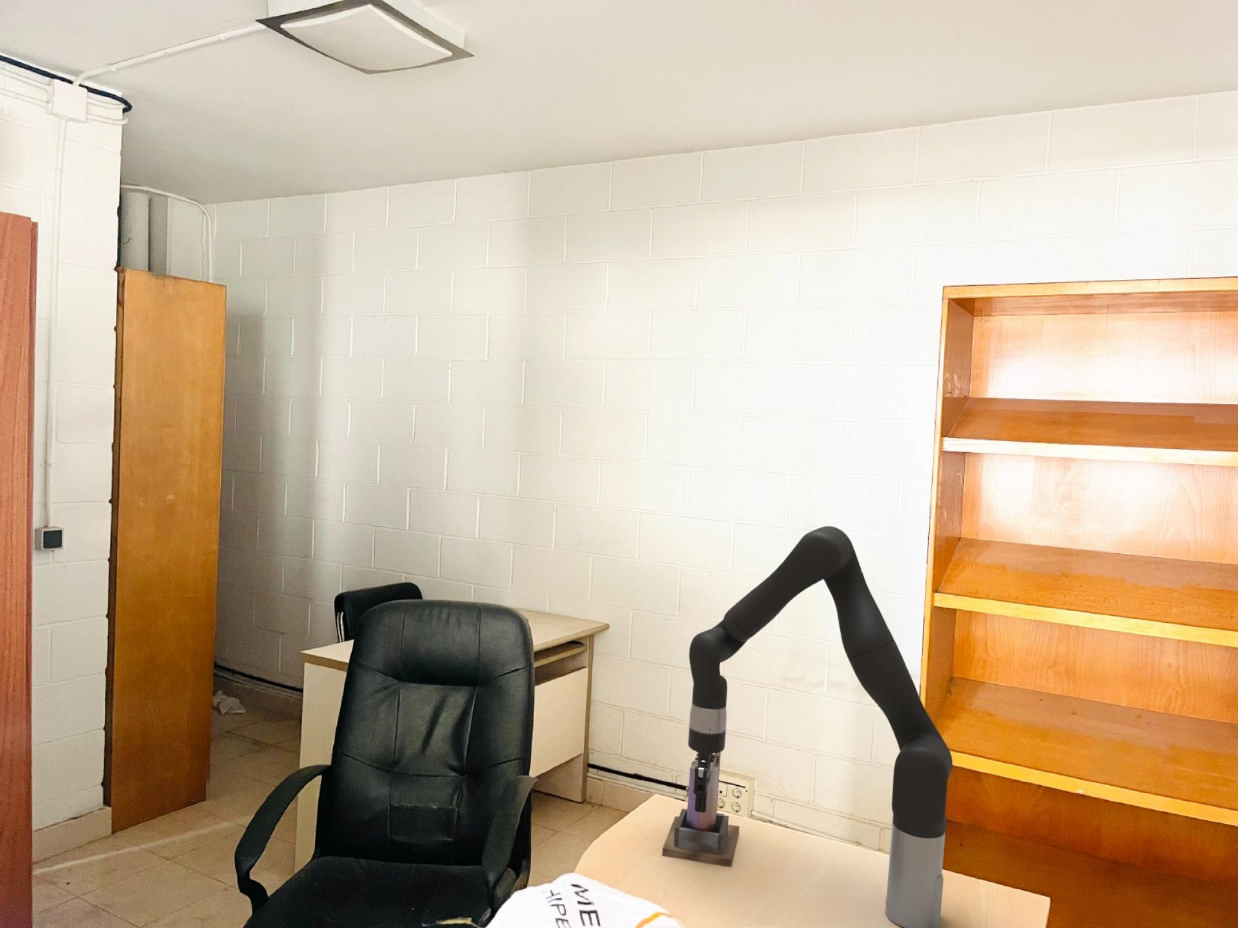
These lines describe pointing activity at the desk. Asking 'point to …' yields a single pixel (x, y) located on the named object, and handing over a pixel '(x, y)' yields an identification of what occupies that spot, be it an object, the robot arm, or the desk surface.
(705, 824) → the beverage can
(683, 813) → the post holder
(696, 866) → the desk surface
